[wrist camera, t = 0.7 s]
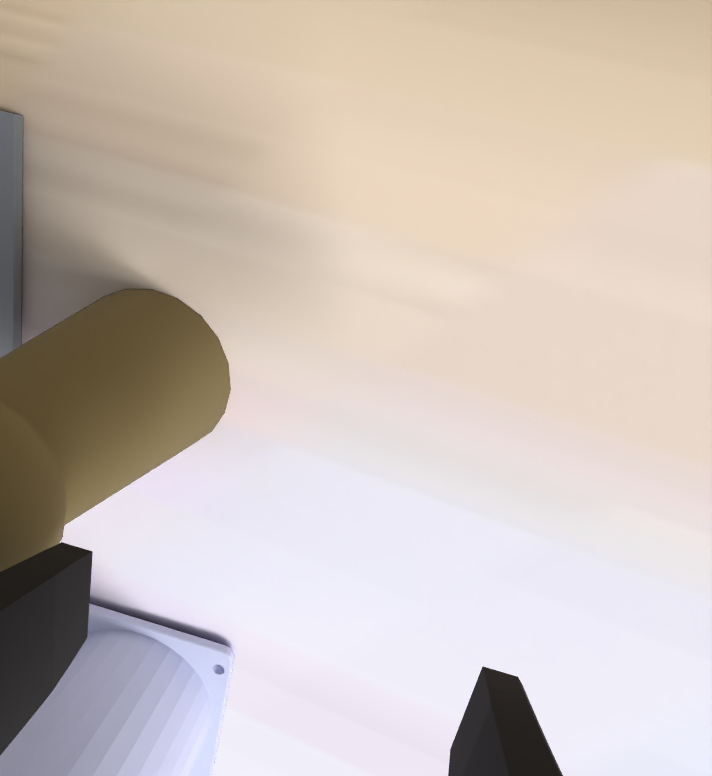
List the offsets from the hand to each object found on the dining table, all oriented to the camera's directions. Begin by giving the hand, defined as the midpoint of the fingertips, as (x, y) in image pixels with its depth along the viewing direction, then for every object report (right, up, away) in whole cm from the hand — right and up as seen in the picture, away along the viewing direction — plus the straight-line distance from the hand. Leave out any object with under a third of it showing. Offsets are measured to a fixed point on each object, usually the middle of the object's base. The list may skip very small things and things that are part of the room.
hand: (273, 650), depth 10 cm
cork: (-6, +5, +11) cm, 13 cm away
